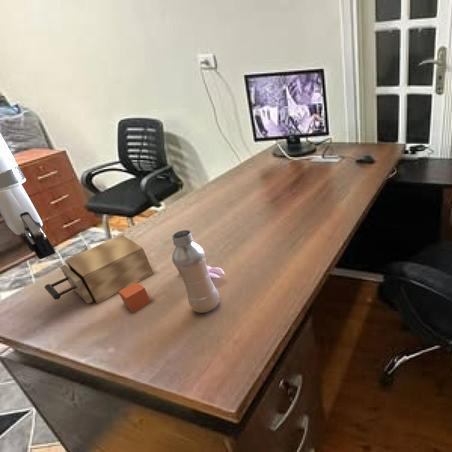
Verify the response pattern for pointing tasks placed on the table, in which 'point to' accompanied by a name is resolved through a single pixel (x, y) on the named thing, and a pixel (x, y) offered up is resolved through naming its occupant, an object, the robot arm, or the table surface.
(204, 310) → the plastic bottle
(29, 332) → the table surface
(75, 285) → the drawer
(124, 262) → the cabinet
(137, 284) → the block
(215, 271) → the rabbit figure
